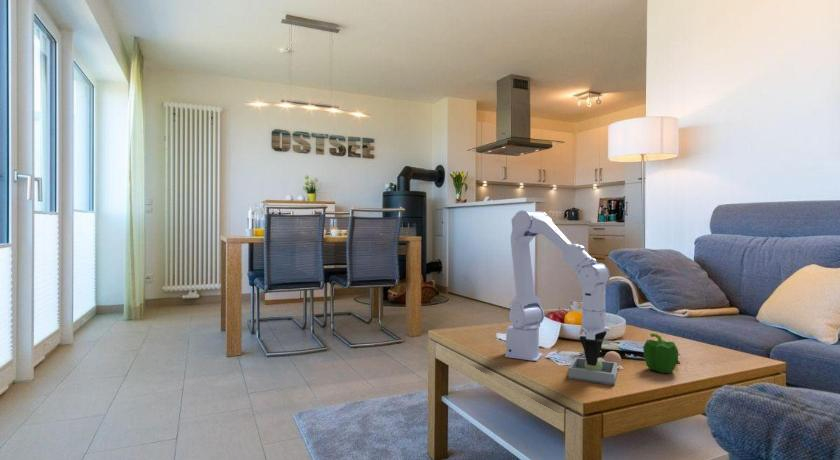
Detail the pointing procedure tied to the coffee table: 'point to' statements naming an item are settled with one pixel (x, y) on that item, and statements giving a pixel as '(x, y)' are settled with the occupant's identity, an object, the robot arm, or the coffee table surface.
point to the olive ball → (594, 368)
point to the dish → (593, 372)
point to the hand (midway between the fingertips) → (593, 361)
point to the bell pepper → (660, 354)
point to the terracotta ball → (613, 357)
